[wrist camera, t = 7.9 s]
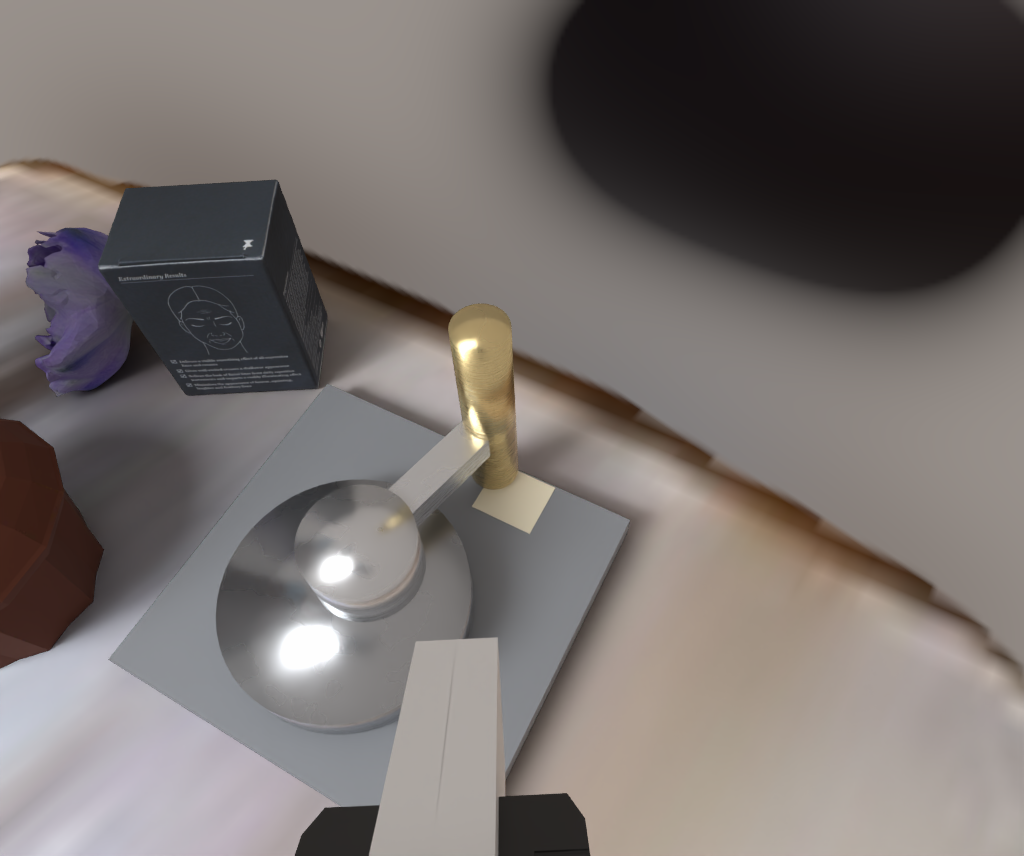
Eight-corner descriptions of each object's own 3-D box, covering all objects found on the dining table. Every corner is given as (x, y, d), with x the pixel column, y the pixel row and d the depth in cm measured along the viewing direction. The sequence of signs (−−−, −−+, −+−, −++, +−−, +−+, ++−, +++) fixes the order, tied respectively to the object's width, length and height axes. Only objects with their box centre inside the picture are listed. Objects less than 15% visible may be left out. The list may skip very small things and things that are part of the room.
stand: (123, 668, 36) (107, 659, 35) (333, 399, 44) (327, 382, 42) (457, 878, 31) (453, 877, 30) (627, 532, 39) (630, 519, 37)
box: (329, 315, 47) (280, 175, 38) (320, 392, 44) (264, 259, 35) (201, 321, 47) (121, 183, 38) (182, 398, 44) (92, 267, 35)
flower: (174, 175, 44) (-24, 191, 38) (241, 304, 44) (51, 344, 37) (140, 262, 51) (-34, 288, 44) (197, 375, 50) (29, 419, 44)
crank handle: (343, 794, 31) (258, 744, 22) (182, 618, 35) (53, 511, 26) (595, 517, 37) (613, 384, 28) (433, 394, 41) (402, 243, 32)
